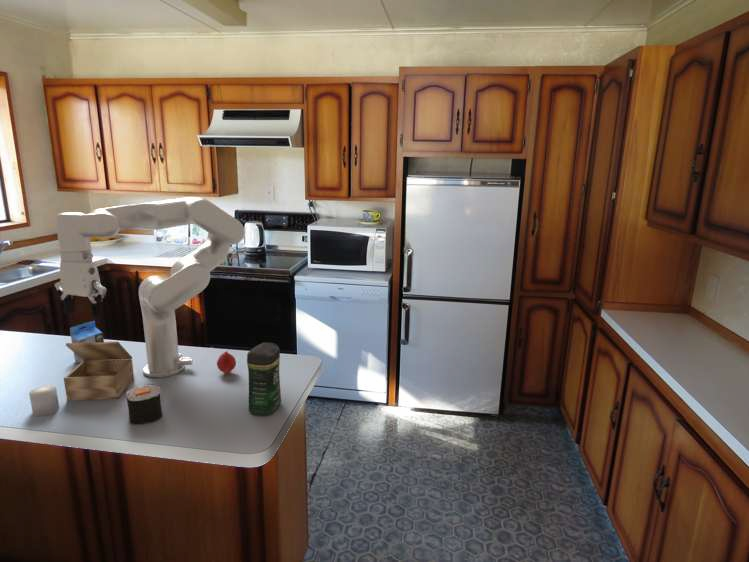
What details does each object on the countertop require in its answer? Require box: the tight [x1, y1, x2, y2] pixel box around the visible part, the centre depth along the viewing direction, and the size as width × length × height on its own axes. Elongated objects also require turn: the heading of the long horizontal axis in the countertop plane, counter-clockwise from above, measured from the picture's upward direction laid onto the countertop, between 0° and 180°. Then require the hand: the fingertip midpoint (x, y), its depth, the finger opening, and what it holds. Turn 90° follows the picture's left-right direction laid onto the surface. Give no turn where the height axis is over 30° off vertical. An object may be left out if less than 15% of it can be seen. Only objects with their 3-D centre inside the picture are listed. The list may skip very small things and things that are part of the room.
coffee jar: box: [246, 341, 282, 416], centre depth 129 cm, size 10×8×19 cm
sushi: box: [125, 384, 163, 426], centre depth 125 cm, size 8×8×8 cm
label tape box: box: [69, 320, 105, 364], centre depth 160 cm, size 9×4×12 cm, turn 155°
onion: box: [216, 350, 237, 375], centre depth 151 cm, size 6×6×8 cm
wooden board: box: [65, 341, 133, 361], centre depth 139 cm, size 14×12×1 cm
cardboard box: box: [63, 358, 135, 402], centre depth 139 cm, size 14×12×7 cm
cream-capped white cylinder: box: [28, 384, 60, 417], centre depth 127 cm, size 6×6×6 cm
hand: (83, 313), depth 136 cm, fingers open, 9 cm apart
